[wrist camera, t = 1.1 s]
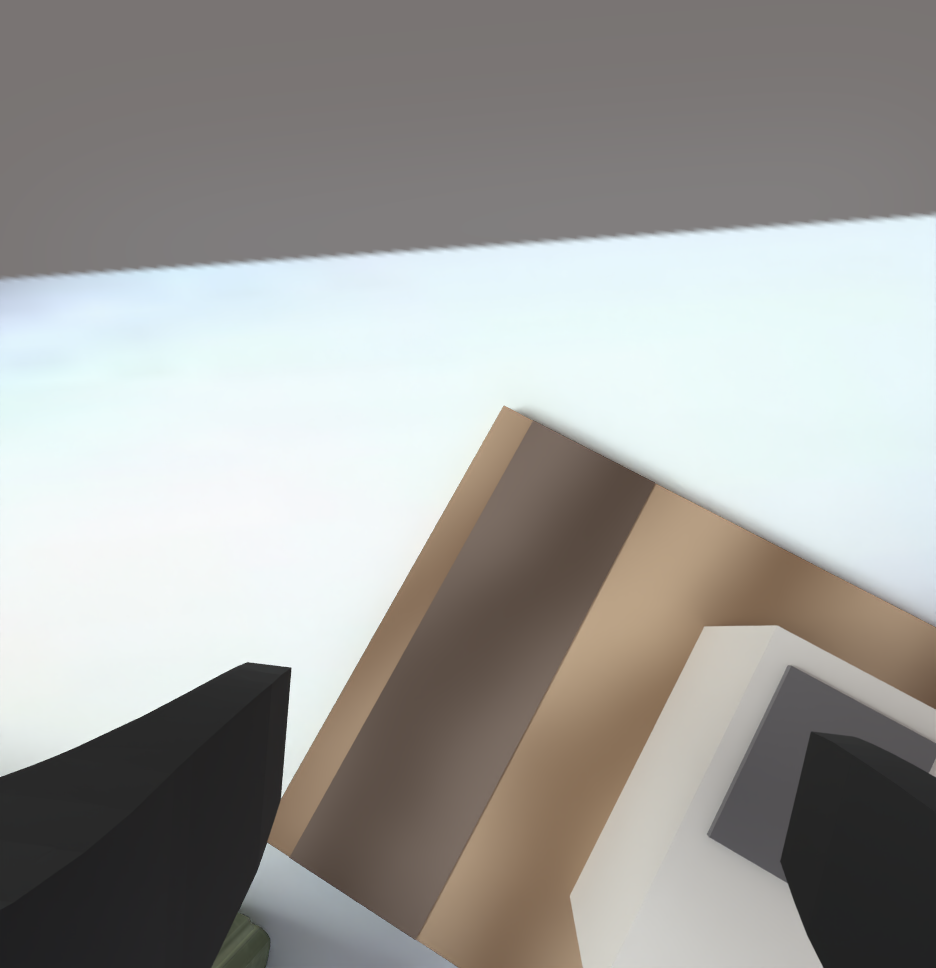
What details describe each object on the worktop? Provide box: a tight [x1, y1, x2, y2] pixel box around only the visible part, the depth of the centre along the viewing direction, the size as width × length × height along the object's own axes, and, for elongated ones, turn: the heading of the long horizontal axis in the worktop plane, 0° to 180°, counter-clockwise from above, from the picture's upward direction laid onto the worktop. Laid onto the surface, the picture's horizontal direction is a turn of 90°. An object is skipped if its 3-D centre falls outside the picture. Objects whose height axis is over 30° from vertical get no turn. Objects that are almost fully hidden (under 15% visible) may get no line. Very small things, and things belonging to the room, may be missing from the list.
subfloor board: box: [267, 406, 936, 968], centre depth 20 cm, size 16×14×1 cm
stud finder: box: [570, 625, 936, 968], centre depth 17 cm, size 4×8×6 cm, turn 151°
